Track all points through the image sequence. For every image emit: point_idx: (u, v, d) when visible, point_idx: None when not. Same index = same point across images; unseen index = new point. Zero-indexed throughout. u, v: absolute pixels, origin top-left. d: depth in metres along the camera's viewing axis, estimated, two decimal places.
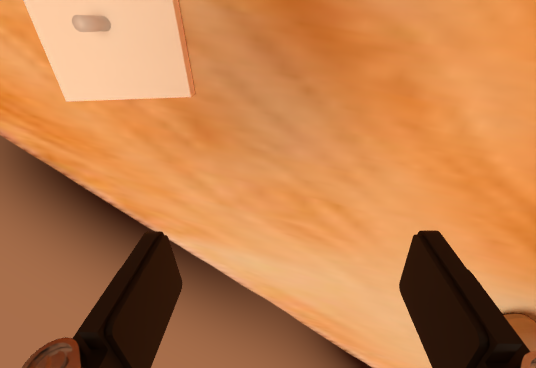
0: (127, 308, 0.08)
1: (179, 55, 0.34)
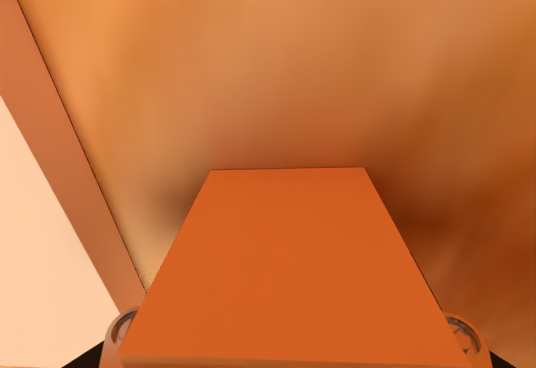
0: None
1: None
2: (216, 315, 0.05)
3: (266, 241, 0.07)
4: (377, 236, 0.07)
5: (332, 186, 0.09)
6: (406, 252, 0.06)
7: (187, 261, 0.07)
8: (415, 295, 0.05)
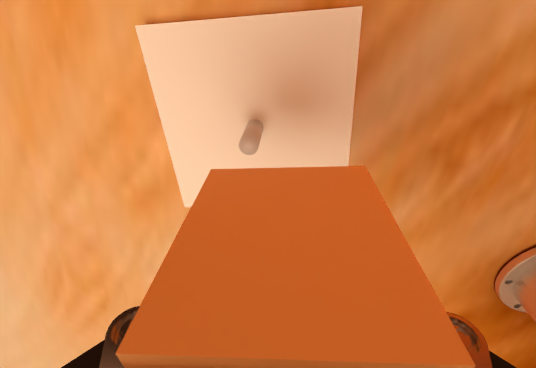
0: None
1: None
2: (217, 314, 0.05)
3: (267, 240, 0.07)
4: (378, 235, 0.07)
5: (333, 185, 0.09)
6: (408, 250, 0.06)
7: (188, 260, 0.07)
8: (418, 294, 0.05)
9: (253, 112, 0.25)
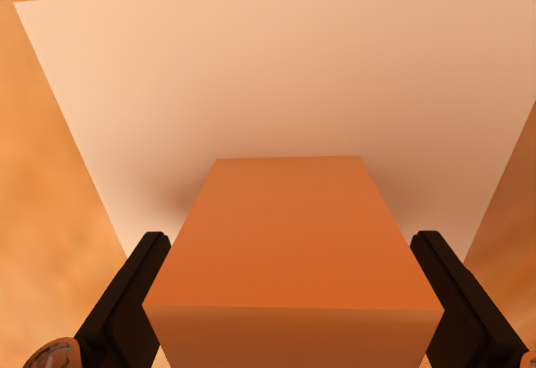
0: (128, 307, 0.08)
1: None
2: (227, 275, 0.06)
3: (269, 217, 0.08)
4: (369, 213, 0.08)
5: (329, 172, 0.10)
6: (394, 224, 0.07)
7: (199, 234, 0.07)
8: (400, 258, 0.06)
9: None
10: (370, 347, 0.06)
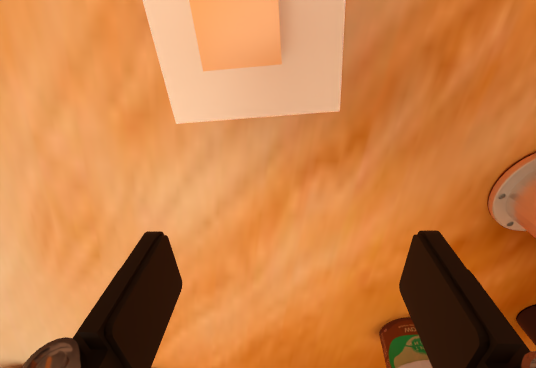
0: (127, 308, 0.08)
1: (220, 116, 0.29)
2: None
3: None
4: None
5: None
6: None
7: None
8: None
9: None
10: None
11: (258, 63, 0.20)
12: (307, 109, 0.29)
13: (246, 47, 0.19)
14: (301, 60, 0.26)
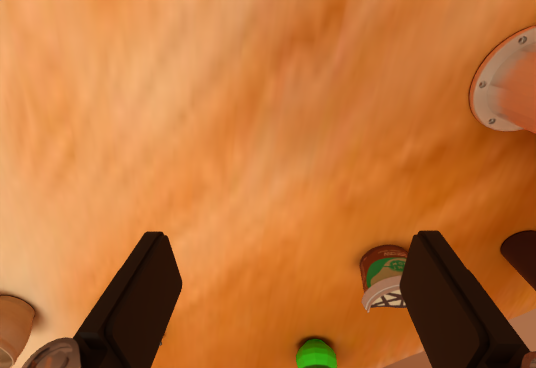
0: (127, 308, 0.08)
1: None
2: None
3: None
4: None
5: None
6: None
7: None
8: None
9: None
10: None
11: None
12: None
13: None
14: None
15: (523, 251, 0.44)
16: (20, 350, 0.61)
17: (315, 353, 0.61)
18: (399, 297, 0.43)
